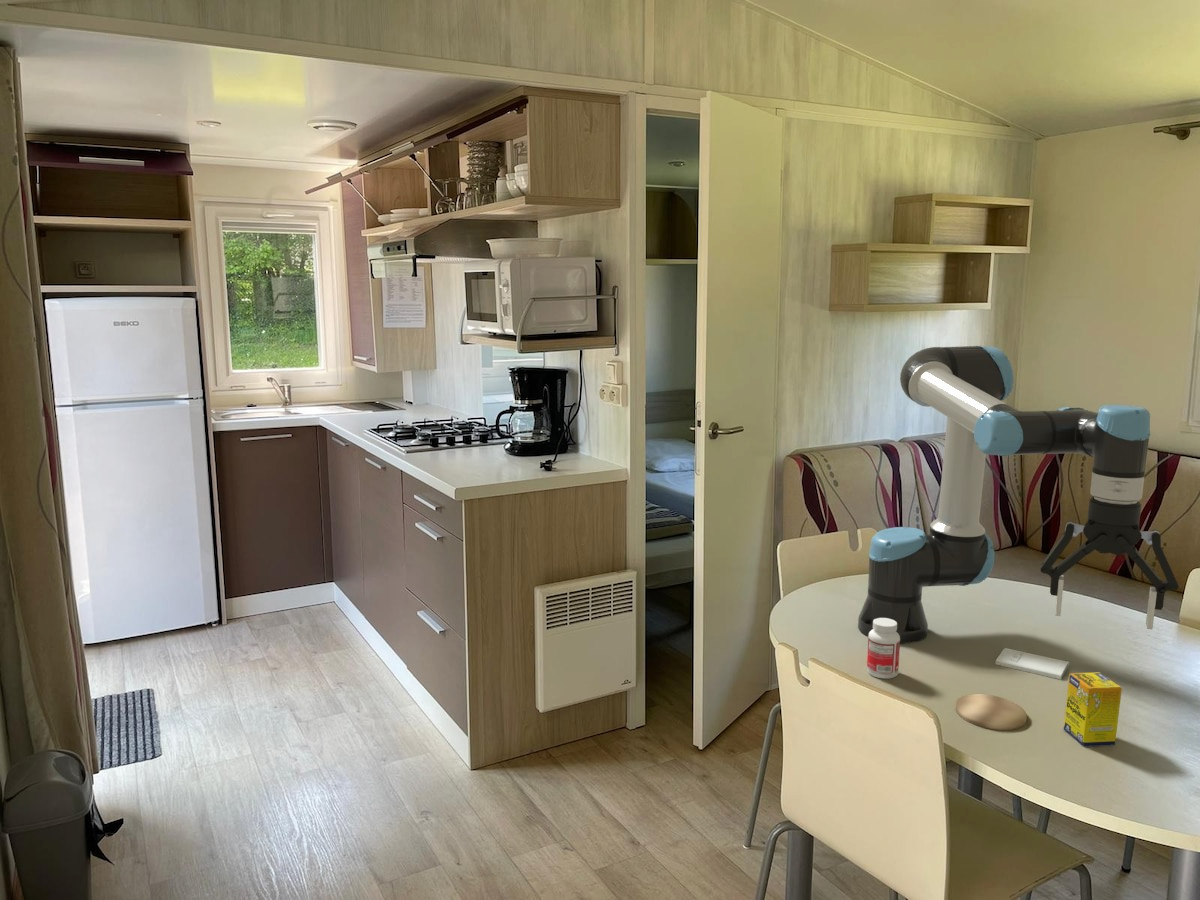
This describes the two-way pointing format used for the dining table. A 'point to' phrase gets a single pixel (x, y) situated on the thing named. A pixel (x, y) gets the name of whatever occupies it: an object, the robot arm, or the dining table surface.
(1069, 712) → the supplement box
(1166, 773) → the dining table surface
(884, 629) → the pill bottle
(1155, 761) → the dining table surface
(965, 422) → the robot arm
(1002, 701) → the disc
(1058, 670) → the external hard drive
